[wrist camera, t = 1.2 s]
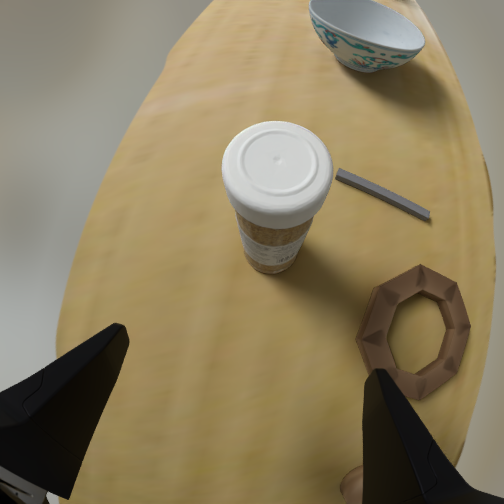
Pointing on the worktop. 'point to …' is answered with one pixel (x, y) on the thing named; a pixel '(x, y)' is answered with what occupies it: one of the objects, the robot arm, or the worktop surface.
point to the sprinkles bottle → (275, 189)
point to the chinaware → (365, 33)
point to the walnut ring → (381, 317)
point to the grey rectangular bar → (382, 194)
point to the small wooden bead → (353, 486)
